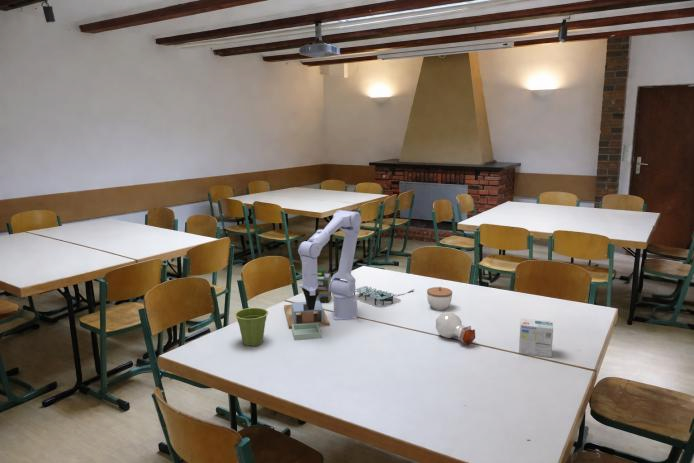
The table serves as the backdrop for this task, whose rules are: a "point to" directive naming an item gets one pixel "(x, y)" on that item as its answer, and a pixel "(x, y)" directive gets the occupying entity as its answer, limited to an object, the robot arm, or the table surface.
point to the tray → (306, 331)
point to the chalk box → (323, 286)
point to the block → (307, 317)
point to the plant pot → (252, 325)
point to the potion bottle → (454, 328)
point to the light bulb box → (536, 337)
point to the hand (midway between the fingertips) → (310, 307)
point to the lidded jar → (439, 297)
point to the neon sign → (376, 297)
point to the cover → (306, 309)
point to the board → (298, 317)
